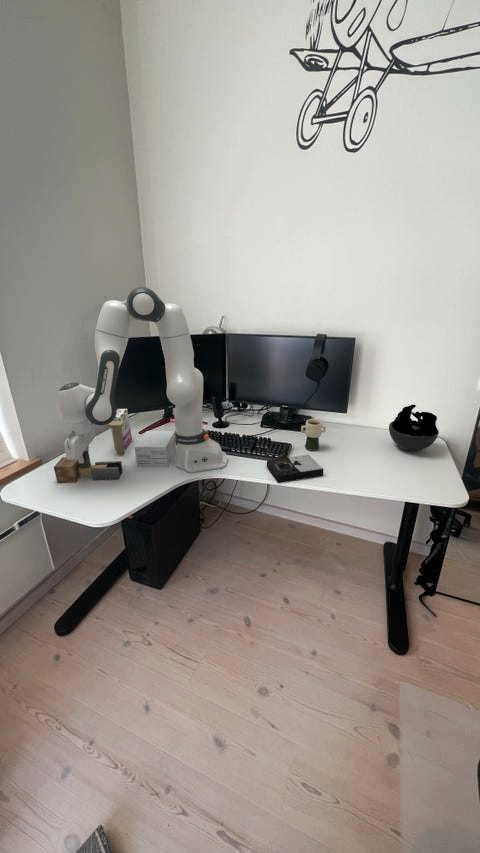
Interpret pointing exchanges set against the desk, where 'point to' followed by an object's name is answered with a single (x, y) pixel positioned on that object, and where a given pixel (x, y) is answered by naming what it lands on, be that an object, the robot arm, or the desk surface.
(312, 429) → the character mug
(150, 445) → the supplement box
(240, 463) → the desk surface
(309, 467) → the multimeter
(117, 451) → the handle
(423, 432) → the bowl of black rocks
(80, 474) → the tan bar
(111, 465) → the sleeve channel
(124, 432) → the candy bar box
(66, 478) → the socket block
